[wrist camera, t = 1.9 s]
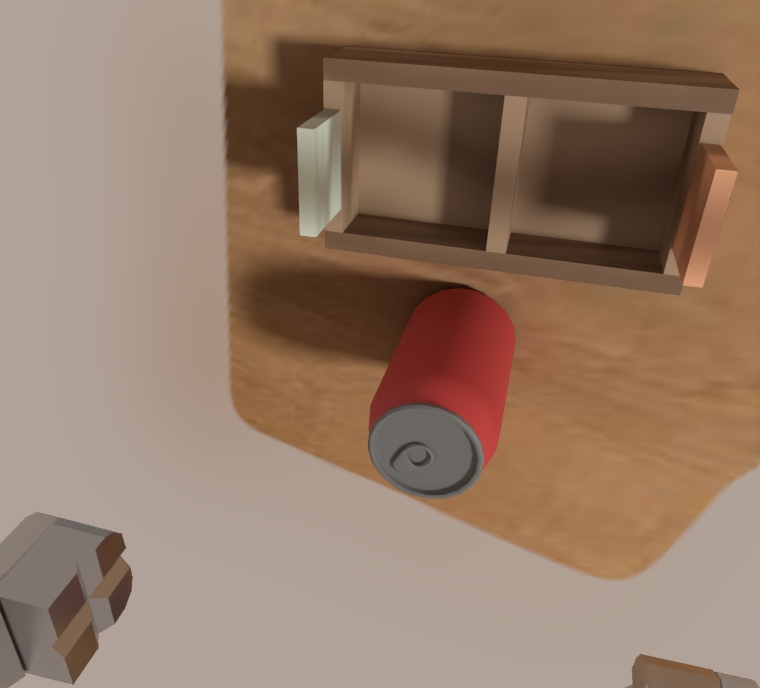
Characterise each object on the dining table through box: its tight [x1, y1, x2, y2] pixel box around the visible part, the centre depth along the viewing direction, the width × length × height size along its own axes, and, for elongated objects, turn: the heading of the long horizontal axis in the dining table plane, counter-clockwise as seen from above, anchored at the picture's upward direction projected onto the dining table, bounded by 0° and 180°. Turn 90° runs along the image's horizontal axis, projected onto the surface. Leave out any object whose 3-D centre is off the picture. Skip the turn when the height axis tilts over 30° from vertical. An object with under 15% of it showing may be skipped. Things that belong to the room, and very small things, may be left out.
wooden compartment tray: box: [297, 46, 739, 295], centre depth 33 cm, size 10×18×8 cm, turn 88°
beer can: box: [368, 288, 516, 498], centre depth 37 cm, size 7×7×12 cm
